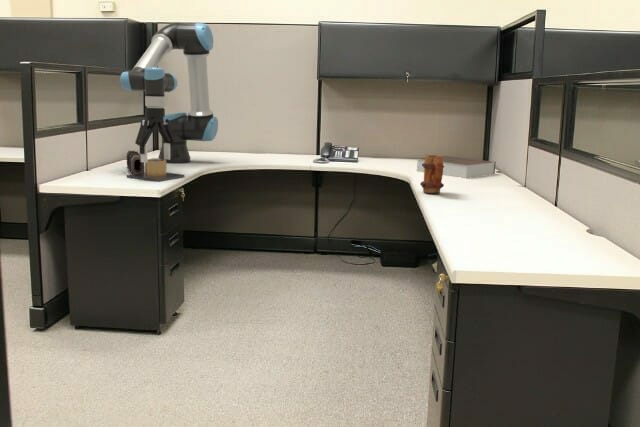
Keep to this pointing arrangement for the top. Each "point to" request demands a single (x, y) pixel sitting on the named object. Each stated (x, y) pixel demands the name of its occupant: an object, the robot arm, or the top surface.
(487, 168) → the book
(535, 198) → the top surface
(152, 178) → the dark piece
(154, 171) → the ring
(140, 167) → the tube
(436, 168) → the mug
